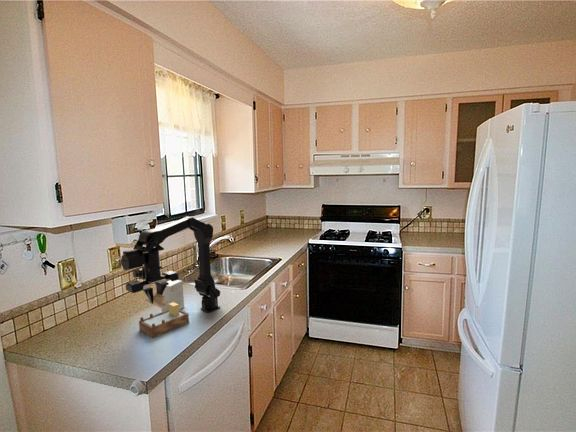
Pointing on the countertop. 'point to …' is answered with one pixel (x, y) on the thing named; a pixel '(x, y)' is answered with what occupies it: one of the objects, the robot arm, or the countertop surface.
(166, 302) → the small box
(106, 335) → the countertop surface
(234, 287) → the countertop surface
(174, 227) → the robot arm
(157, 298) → the tan block
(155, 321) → the lid
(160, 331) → the brown frame
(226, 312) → the countertop surface
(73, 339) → the countertop surface
